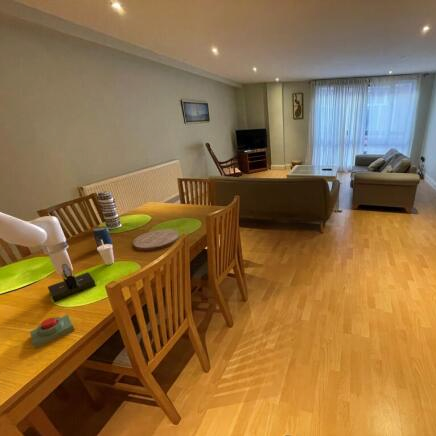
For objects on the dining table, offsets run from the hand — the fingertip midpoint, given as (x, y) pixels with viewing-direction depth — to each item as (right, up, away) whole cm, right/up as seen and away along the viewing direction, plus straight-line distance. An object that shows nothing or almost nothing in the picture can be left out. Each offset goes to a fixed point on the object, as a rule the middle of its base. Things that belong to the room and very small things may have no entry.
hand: (70, 282), depth 104 cm
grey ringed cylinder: (-28, +22, +63) cm, 73 cm away
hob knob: (0, 0, 0) cm, 0 cm away
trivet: (+13, +14, +44) cm, 48 cm away
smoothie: (+2, +5, +21) cm, 21 cm away
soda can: (-13, +11, +36) cm, 40 cm away
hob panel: (0, -3, +1) cm, 3 cm away
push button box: (+13, -12, -20) cm, 27 cm away
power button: (+13, -9, -22) cm, 27 cm away
